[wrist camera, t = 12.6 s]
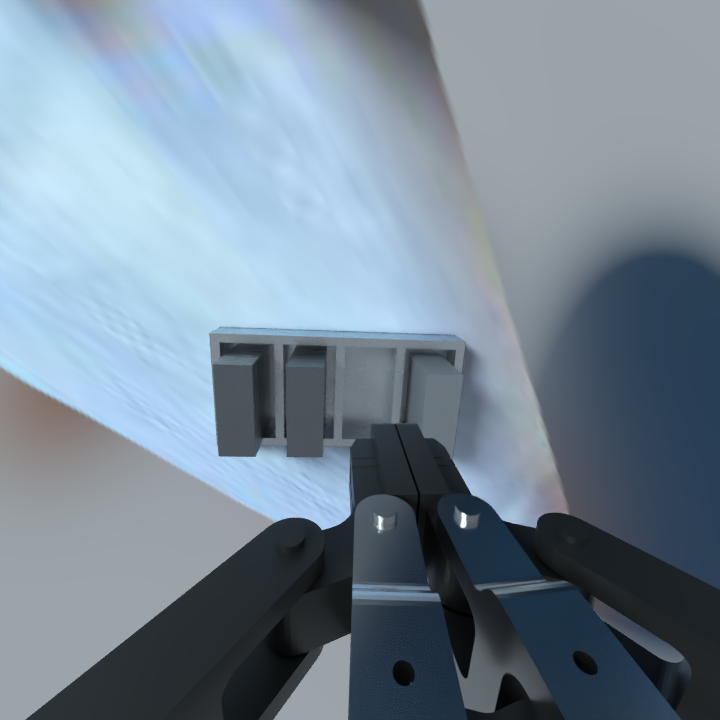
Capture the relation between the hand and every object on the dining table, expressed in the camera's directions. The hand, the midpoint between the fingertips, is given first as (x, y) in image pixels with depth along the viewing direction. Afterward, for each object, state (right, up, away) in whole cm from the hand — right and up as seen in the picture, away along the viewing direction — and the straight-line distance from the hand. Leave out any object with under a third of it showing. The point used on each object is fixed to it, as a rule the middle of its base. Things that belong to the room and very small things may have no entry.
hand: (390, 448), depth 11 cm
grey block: (+5, 0, +24) cm, 25 cm away
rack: (-3, +1, +24) cm, 25 cm away
